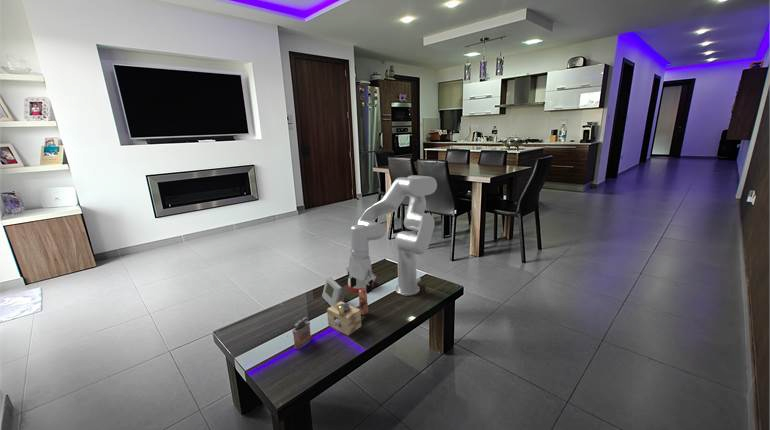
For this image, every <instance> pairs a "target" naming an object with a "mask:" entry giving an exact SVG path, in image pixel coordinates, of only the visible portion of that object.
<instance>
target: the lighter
mask: <svg viewBox="0 0 770 430" xmlns="http://www.w3.org/2000/svg"><path fill="white" fill-rule="evenodd" d="M292 335H293V342H294V343H293V344H294V349H295V350H300V349H301V348H303V347H304V346H306V345H307V344H309V343H310V342H311V341H312V338H313V337H312V335H311V321H309V320H308V317H307V316H304V317H303V318H302V319H299V320H297V321H296V323H295V324H294V328H293V329H292Z"/></svg>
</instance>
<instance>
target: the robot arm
mask: <svg viewBox="0 0 770 430" xmlns="http://www.w3.org/2000/svg"><path fill="white" fill-rule="evenodd" d="M437 187H438V184H437V180H436V178H434V177H433V176H429V175H428V176H425V175H412V174H411V175H408V176H407V177H403V176H402V177H396V179H395V180H394V181H393V182H392V184H391V185H390V186H389V188H388V189H387V191H386V192H385V194H384V195H383V197H382V198H381V199H380V200H379V201H377V202H376V203H374V204H372V205H371V206H370V207H368V208H367V209H366V210H365V211H364V212H363V214H362V215H361V216H360V218H359V219H358V221H357V222H356V224H354V225H352V226H351V227H350V247H351V248H350V252H351V254H350V256H349V259H348V260H349V261H348V266H347V267H345V269H346V272H347V275H348V279H349V278H350V284H351V287H354V286H356V279H359V280H362V281H366V283H367V285H366V293H367V295H368V294H370V293H372V292H373V287H372V284H374V283H375V282H376V280H377V275H375V273H374V272H373V271H372V262H371V257H370V252H369V251H370V250H369V248H370V247H369V242H370V241H376V240H380V239H382V238H384V236H385V235H386V227H385V225H384V224H382V223H380V222H376V221H375V220H377V219H378V218H380V217H382V216H384V215H388V214H391V213H394V212H396V211H397V210H398V209H399V207H400V205H401V204H402V202H403V201H404V200H405V198H406V197H409V203H408V206H407V208H406V209H407V211H406V213H405V215H404V220H403V225H404V227H405V228H406V229H408V230H411V231H415V232H417V233H415V232H411V231H407V230H405V231H404V230H403V231H400V232H398V233H397V234H396V235H395V238H394V245H395V249H396V255H397V285H396V286H395V292H396V293H397V295H398V294H399V295H401V296H405V297H407V296H409V297H410V296H414V295H417V294H418V293H420V286H419V285H418V283H419V282H421V281H422V279H421V278H420V277H417V255H420V256H422V255H424V254H425V253H427V251H428V249H429V246H430V243H431V240H432V236H433V233H434V228H435V224H436V223H435V219H434V216H433V215H431V213H426V212H425V211H426V206H427V201H426V196H429V195H432V194H434V193H435V192H436V190H437ZM367 277H368V278H367ZM371 277H372V279H371ZM368 279H369V281H368Z"/></svg>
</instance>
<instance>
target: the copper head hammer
mask: <svg viewBox="0 0 770 430" xmlns="http://www.w3.org/2000/svg"><path fill="white" fill-rule="evenodd" d="M358 301H359V303H358V305H357V306H355V308H358V309H360V311H361V315H363V316H365V315H367V314H368V313H369V303H368V294H367V293H366V288H360V289H359V291H358ZM339 324H340V319H338V318H337V319H336V320H334V325H335V326H337V325H339Z"/></svg>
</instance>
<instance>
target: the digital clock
mask: <svg viewBox="0 0 770 430" xmlns="http://www.w3.org/2000/svg"><path fill="white" fill-rule="evenodd" d="M343 291H344V288H343V287H342V286H341V284H339V283H338V282H337V281H336V280H335V279H333V278H332V277H330V276H327V278H326V280H325V283H324V287H323V292H322V295H321V297H322V298H323V299H324V300H325V302H326V303H328V305H329V306H330V307H331V306H333V305H335V304H337V303H339V302H340V301H341V302H344V303H345V295H344V294H343V293H344V292H343Z"/></svg>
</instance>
